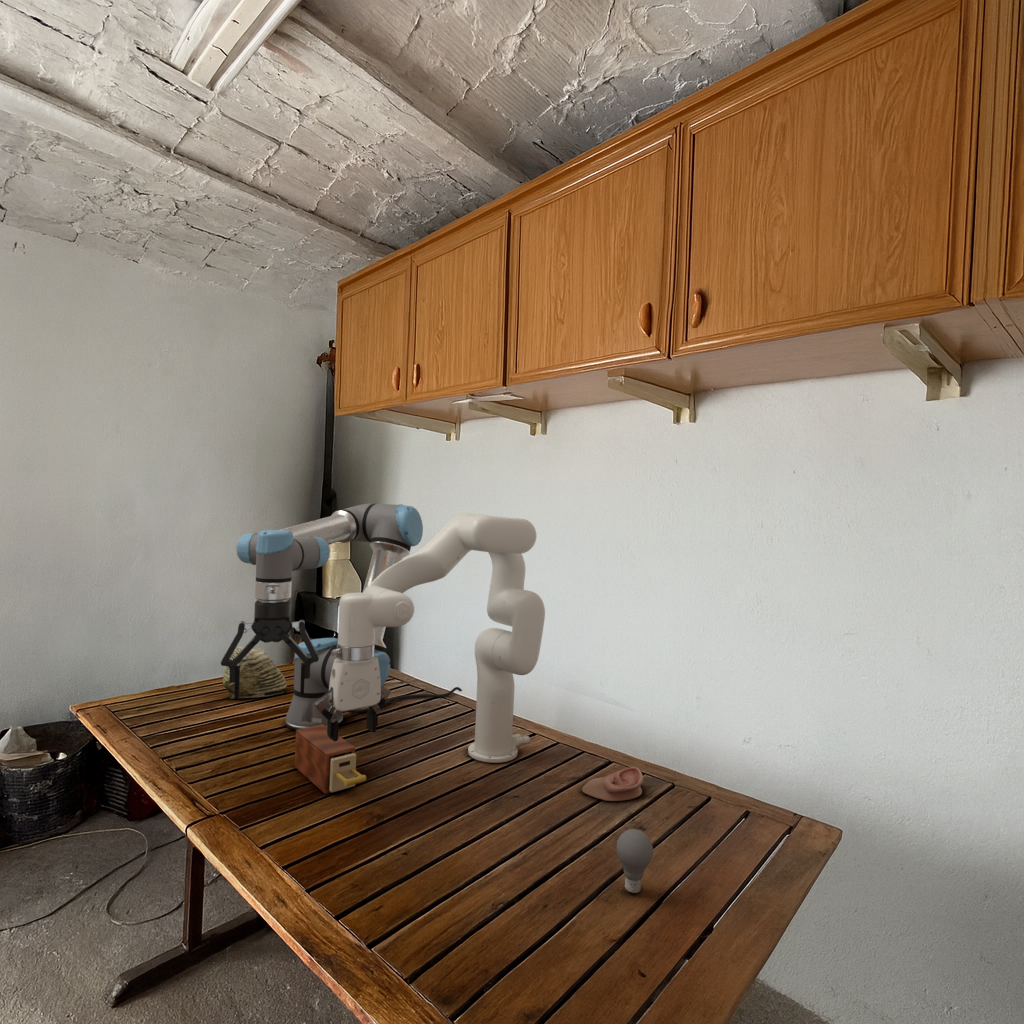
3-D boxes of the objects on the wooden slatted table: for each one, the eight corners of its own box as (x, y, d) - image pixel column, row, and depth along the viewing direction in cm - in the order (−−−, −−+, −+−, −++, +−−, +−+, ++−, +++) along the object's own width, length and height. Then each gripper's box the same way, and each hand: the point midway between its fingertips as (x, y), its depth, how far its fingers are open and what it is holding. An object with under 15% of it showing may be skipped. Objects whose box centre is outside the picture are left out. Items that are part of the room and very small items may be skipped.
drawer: (367, 796, 133) (369, 763, 133) (343, 803, 130) (345, 770, 130) (324, 760, 150) (325, 732, 149) (302, 766, 146) (303, 736, 146)
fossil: (218, 695, 195) (220, 647, 195) (278, 685, 208) (279, 640, 207) (228, 703, 189) (230, 653, 188) (289, 692, 201) (290, 645, 201)
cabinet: (353, 786, 139) (355, 747, 139) (325, 794, 135) (326, 754, 135) (321, 759, 152) (322, 724, 152) (294, 766, 148) (295, 729, 148)
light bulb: (610, 879, 108) (613, 822, 108) (644, 879, 109) (647, 822, 109) (619, 902, 102) (622, 840, 102) (655, 901, 103) (658, 840, 103)
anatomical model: (581, 779, 138) (585, 758, 149) (580, 797, 138) (585, 775, 149) (643, 787, 135) (643, 766, 147) (642, 806, 136) (642, 783, 147)
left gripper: (209, 603, 133) (205, 703, 133) (332, 601, 141) (328, 696, 141) (213, 597, 140) (210, 692, 140) (330, 596, 148) (327, 686, 149)
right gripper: (323, 661, 124) (320, 750, 125) (401, 651, 136) (397, 732, 136) (308, 653, 130) (305, 738, 130) (384, 644, 141) (380, 721, 142)
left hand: (269, 694), depth 141 cm, fingers open, 13 cm apart
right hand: (352, 734), depth 133 cm, fingers open, 8 cm apart
